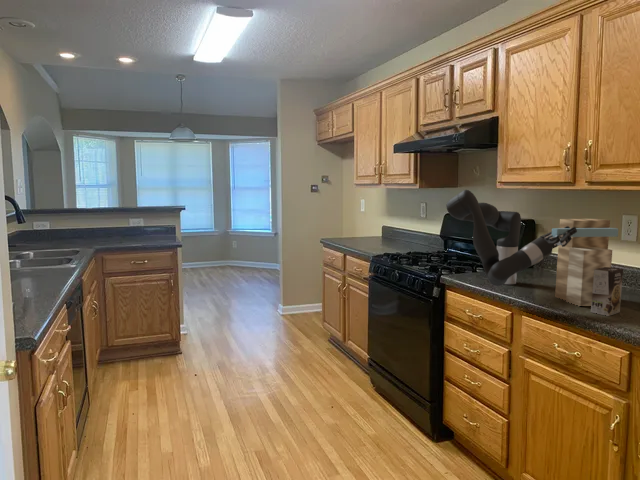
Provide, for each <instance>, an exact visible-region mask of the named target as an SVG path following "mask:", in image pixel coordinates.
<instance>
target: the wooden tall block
mask: <svg viewBox="0 0 640 480" xmlns="http://www.w3.org/2000/svg"><path fill="white" fill-rule="evenodd" d="M566 226H569V227H570V228H572V227H576V228H611V227H610V226H611V220H610V219H602V218H601V219H600V218H560V219H559V228H565V227H566ZM571 238H572V239H571V240H570V242H569V243H568V244H567V245H566V246H565V247H562V245H558V246H557V247H558V248H557V262H556V275H555V276H556V277H555V278H556V279H555V291H554V298H557V299H559V298H560V299H559V300H562V299H563V301H565V300H566V295H567V280H568V265H569V249H570V248H580V247H599V248H605V249H609V238H610V237H571Z"/></svg>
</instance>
